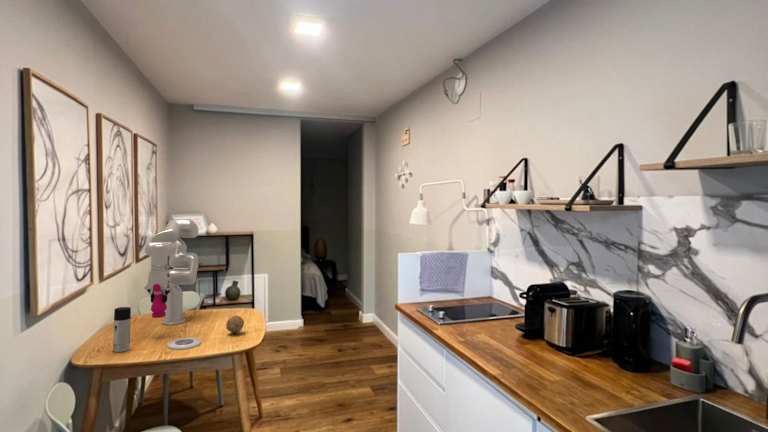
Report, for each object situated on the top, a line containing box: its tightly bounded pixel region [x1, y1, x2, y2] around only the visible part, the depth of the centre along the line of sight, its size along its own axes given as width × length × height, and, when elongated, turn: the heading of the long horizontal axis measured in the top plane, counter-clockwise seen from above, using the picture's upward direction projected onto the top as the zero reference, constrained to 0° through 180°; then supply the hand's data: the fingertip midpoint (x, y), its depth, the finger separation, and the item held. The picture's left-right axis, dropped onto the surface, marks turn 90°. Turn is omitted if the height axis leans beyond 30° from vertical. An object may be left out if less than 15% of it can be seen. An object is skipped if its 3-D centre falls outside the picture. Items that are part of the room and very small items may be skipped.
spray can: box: [112, 306, 132, 353], centre depth 192 cm, size 7×7×20 cm
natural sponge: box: [225, 315, 245, 334], centre depth 221 cm, size 9×9×10 cm
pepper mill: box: [150, 284, 167, 319], centre depth 211 cm, size 7×7×20 cm
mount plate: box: [167, 337, 202, 351], centre depth 202 cm, size 15×15×1 cm
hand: (158, 301), depth 211 cm, fingers closed on pepper mill, 5 cm apart
